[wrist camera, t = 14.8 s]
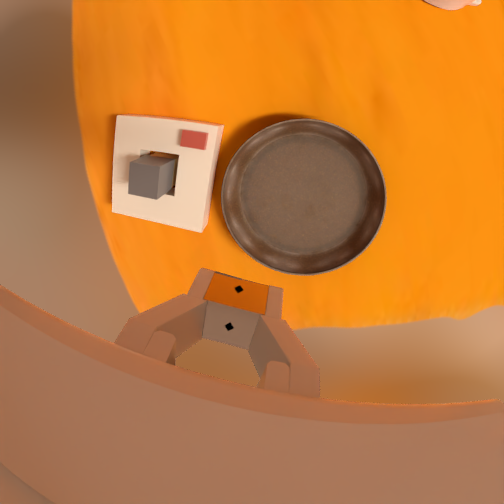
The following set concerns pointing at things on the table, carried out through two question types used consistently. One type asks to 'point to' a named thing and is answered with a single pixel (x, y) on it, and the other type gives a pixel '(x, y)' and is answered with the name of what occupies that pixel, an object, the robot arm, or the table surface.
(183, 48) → the table surface
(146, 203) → the socket plate
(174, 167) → the plug
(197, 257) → the table surface
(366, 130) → the table surface
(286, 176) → the plant saucer
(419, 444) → the robot arm
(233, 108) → the table surface
